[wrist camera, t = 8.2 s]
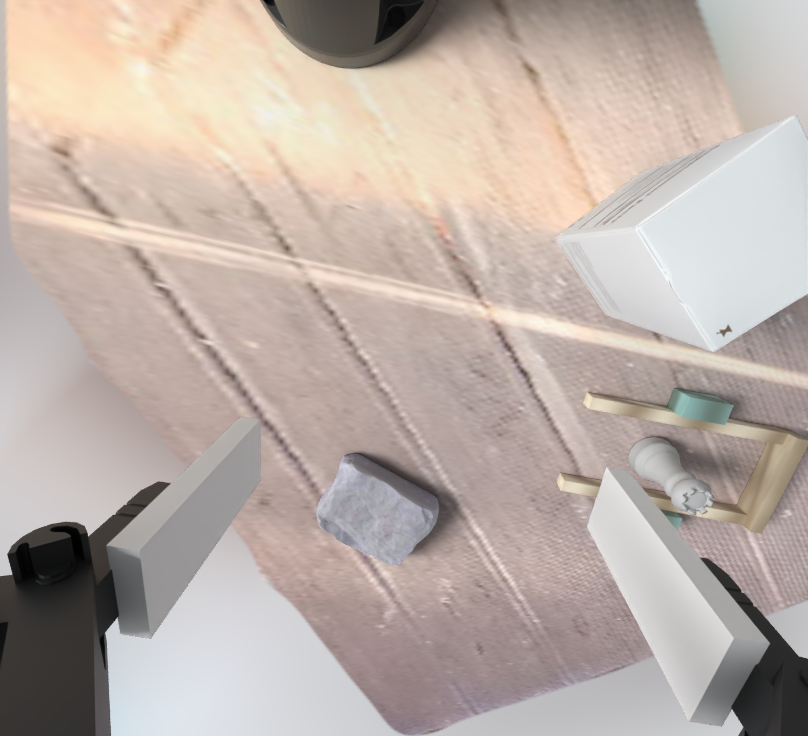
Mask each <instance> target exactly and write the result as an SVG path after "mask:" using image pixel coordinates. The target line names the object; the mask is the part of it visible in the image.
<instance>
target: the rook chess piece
mask: <svg viewBox="0 0 808 736" xmlns="http://www.w3.org/2000/svg"><path fill="white" fill-rule="evenodd" d="M628 459H629V465H630V467H631V468H632V470H633V471H634V472H636V473H637V474H638V475H639V476H640V477H642V478H644V479H646V480H648V481H652V482H657V483H658V484H659V485H661V486H662V487H663V488H664V490H665V492H666V494H667V495H668V496H669V497H671V502H672V504H673V505H674V507H675V508H677V509H679V510H680V511H685V512H688V513H689V514H690V515H696V511H699V512H700V513H701V514H705V513H707V512H708V511H707V510H706V509H705V507H706V506H707V505H708V506H709V507H713V505H714V502H713V501H712V500H711V498H714V497H713V495H712V493H711V488H710V486H709V485H708V484H707V483H706V482H704V481H702V480H697V479H696V477H695V476H694V475H693V474H691V473H689V472H686V471H685V470H684V468H683V467H682V466H681V461H680V456H679V454H678V452H677V451H676V449H675V447H673V446H672V445H671V443H670V442H668V441H667V440H665V439H663V438H658V437H651V438H646V439H643V440H641V441H639V442H637V443H636V444H635V445H634V446H633V448H632V449H631V451H630V454H629V457H628Z"/></svg>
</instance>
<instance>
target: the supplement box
mask: <svg viewBox="0 0 808 736" xmlns="http://www.w3.org/2000/svg"><path fill="white" fill-rule="evenodd" d="M555 239H556V242H557V243H558V245H559V246H560V248H561V249H562V251H563V252H564V254H565V255H566V257H567V258H568V260H569V261H570V263H571V264H572V266H573V267H574V269H575V270H576V272H577V273H578V275H579V276H580V278H581V279H582V281H583V282H584V284H585V285H586V287H587V288H588V290H589V291H590V293H591V294H592V296H593V297H594V299H595V300H596V302H597V303H598V305H599V306H600V308H601V309H602V311H603V312H604V314H605V315H607V316H610V317H613V318H616V319H619V320H621V321H624V322H627V323H630V324H633V325H636V326H639V327H642V328H645V329H647V330H650V331H653V332H656V333H659V334H662V335H665V336H668V337H671V338H673V339H676V340H679V341H682V342H685V343H688V344H691V345H694V346H696V347H699V348H702V349H705V350H708V351H711V352H715V351H717V350H719V349H720V348H722V347H723V346H725V345H726V344H728V343H730V342H731V341H733V340H734V339H736V338H737V337H739V336H741V335H742V334H744V333H745V332H747V331H749V330H750V329H752V328H753V327H755V326H756V325H758V324H760V323H761V322H763V321H764V320H766V319H768V318H769V317H771V316H772V315H774V314H776V313H777V312H779V311H780V310H782V309H784V308H785V307H787V306H789V305H790V304H792V303H794V302H795V301H797V300H798V299H800V298H802V297H804V296H805V295H807V294H808V138H807V136H806V134H805V132H804V130H803V128H802V126H801V124H800V121H799V120H798V117H797V115H793V116H790V117H788V118H785V119H782V120H780V121H777V122H774V123H772V124H769V125H766V126H763V127H761V128H758V129H755V130H753V131H750V132H747V133H745V134H742V135H739V136H737V137H734V138H731V139H729V140H726V141H723V142H721V143H718V144H716V145H713V146H710V147H708V148H705V149H702V150H700V151H697V152H694V153H692V154H689V155H686V156H683V157H681V158H678V159H675V160H673V161H670V162H667V163H665V164H662V165H659V166H657V167H654V168H651V169H649V170H646V171H643V172H641V173H639V174H638V175H636V176H635V177H634V178H632V179H631V180H630V181H628V182H627V183H626V184H625V185H623V186H622V187H621V188H619V189H618V190H617V191H615V192H614V193H613V194H611V195H610V196H609V197H607V198H606V199H605V200H603V201H602V202H601V203H600V204H598V205H597V206H596V207H594V208H593V209H592V210H590V211H589V212H588V213H586V214H585V215H584V216H582V217H581V218H580V219H578V220H577V221H576V222H575V223H573V224H572V225H571V226H569V227H568V228H567V229H565V230H564V231H563V232H561V233H560V234H559V235H558V236H556V238H555Z"/></svg>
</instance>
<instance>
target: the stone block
mask: <svg viewBox="0 0 808 736" xmlns="http://www.w3.org/2000/svg"><path fill="white" fill-rule="evenodd" d="M438 514H439V506H438V500H437V498H436V497H435V496H434V495H432V494H431V493H429V492H427V491H426V490H424V489H422V488H420V487H418V486H416V485H415V484H413V483H411V482H409V481H407V480H405V479H404V478H402V477H400V476H398V475H396V474H394V473H393V472H391V471H389V470H387V469H385V468H383V467H381V466H379V465H378V464H376V463H375V462H373V461H371V460H369V459H367V458H366V457H363V456H362V455H359V454H356V453H353V454H347V455H345V456H344V457H342V459H341V461H340V465H339V471H338V473H337V476H336V477H335V480H334V482H333V484H332V485H331V486H330V487H329V488H328V489H327V491H326V493H325V494H324V495H323V496H322V497H321V499H320V501H319V503H318V508H317V514H316V517H317V518H318V524H319V526H320V527H321V529H322V530H323V531H324V532H325V533H328V534H332V535H333V536H335V537H336V538H337V540H339V541H340V542H342V543H344V544H346V545H348V546H351V547H355V548H356V549H358V550H359V551H361V552H363V553H365V554H368V555H372V556H373V557H374V558H375V559H377V560H380V561H382V562H384V563H386V564H389V565H392V566H394V565H397V564H399V563H401V562H402V561H403V559H404V558H405V557H407V556H408V555H409V554H410V553H411V552H412V551H413V549H414V548H415V546H416V545H417V543H419V542H420V541H421V540H423V539H424V538H425V537H426V536H427V535H428V534H429V533H430V532H431V530H432V529H433V527H434V526H435V524H436V522H437V518H438Z"/></svg>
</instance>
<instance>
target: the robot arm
mask: <svg viewBox="0 0 808 736" xmlns="http://www.w3.org/2000/svg"><path fill="white" fill-rule="evenodd" d="M260 1H261V3H262V5H263V6H264V8H265V9H266V11H267V12H268V14H269V15H270V17H271V18H272V20H273V21H274V23H275V24H276V26H277V27H278V28H279V30H280V31H281V32H282V33H283V35H284V36H285V37H286V38H287V39H288V40H289V41H290V42H291V43H292V44H293V45H294V46H295V47H297V48H298V49H299V50H300V51H302V52H303V53H305V54H306V55H308V56H309V57H311V58H313V59H315V60H317V61H320V62H322V63H325V64H328V65H332V66H336V67H343V68H358V67H365V66H369V65H373V64H376V63H379V62H381V61H384V60H386V59H388V58H390V57H391V56H393V55H395V54H396V53H398V52H399V51H400V50H402V49H403V48H404V47H405V46H407V45H408V44H409V43H410V42H411V41H412V40H413V39H414V38H415V37H416V35H417V34H418V33H419V32H420V31H421V29H422V28H423V27H424V25H425V24H426V22H427V20H428V19H429V17H430V15H431V14H432V12H433V10H434V8H435V5H436V3H437V1H438V0H260ZM260 481H261V478H260V419H254V418H247V417H240V418H239V419H238V420H237V421H236V422H235V423H234V424H233V425H231V426H230V427H229V428H228V429H227V430H226V431H225V432H224V433H223V434H222V435H221V436H220V437H219V438H218V439H217V440H216V441H215V442H214V443H213V444H212V445H211V446H210V447H209V448H207V449H206V450H205V451H204V452H203V453H202V454H201V455H200V456H199V457H198V458H197V459H196V460H195V461H194V462H193V463H192V464H191V465H190V466H189V467H188V468H187V469H186V470H185V471H184V472H183V473H181V474H180V475H179V476H178V477H177V478H176V479H175V480H174V481H173V482H172V483H165V482H157V483H155V484H153V485H151V486H149V487H147V488H145V489H143V490H141V491H140V492H139V493H138V494H136V495H135V496H134V497H133V498H132V499H131V500H130V501H128V502H127V505H124V506H123V507H122V508H121V509H119V510H118V511H117V512H116V515H113V516H112V517H110V518H109V519H108V520H107V521H106V522H105V523H103V524H102V525H101V526H100V527H99V528H98V529H97V530H96V531H94V532H93V533H92V534H91V535H90V536H89V537H88V533H87V530H86V529H85V526H83V525H81V524H78V523H75V522H61V523H56V524H50V525H47V526H44V527H41V528H39V529H36V530H34V531H32V532H30V533H29V534H27V535H25V536H23V537H22V538H20V539H19V540H18V541H17V542H16V543H15V544H13V545H12V547H11V549H10V550H9V552H8V554H7V555H8V559H9V563H10V566H11V570H12V574H13V575H7V576H0V736H111V725H110V704H109V683H108V664H107V663H108V662H107V641H106V635H105V632H106V631H107V629H108V628H109V627H110V626H111V625H112V623H113V622H114V621H115V620H116V618H117V617H118V622H119V628H120V634H123V635H129V636H135V637H142V638H149V639H151V638H152V636H153V634H154V633H155V632H156V630H157V629H158V627H159V626H160V625H161V623H162V622H163V620H164V619H165V617H166V616H167V615H168V613H169V612H170V610H171V608H172V607H173V606H174V605H175V603H176V601H177V600H178V599H179V597H180V596H181V594H182V593H183V592H184V590H185V589H186V587H187V586H188V584H189V583H190V581H191V580H192V579H193V577H194V576H195V574H196V573H197V571H198V570H199V569H200V567H201V566H202V564H203V562H204V561H205V560H206V558H207V557H208V556H209V554H210V553H211V551H212V550H213V548H214V547H215V545H216V544H217V542H218V541H219V540H220V538H221V537H222V535H223V534H224V532H225V531H226V530H227V528H228V527H229V525H230V524H231V522H232V521H233V520H234V518H235V517H236V515H237V514H238V512H239V511H240V509H241V508H242V507H243V505H244V504H245V502H246V501H247V499H248V498H249V497H250V495H251V494H252V492H253V491H254V489H255V488H256V486H257V485H258V484H259V482H260ZM587 528H588V530H589V532H590V534H591V535H592V537H593V539H594V541H595V543H596V545H597V547H598V549H599V551H600V553H601V555H602V556H603V558H604V560H605V562H606V564H607V566H608V568H609V570H610V572H611V574H612V575H613V577H614V579H615V581H616V583H617V585H618V587H619V589H620V591H621V593H622V595H623V596H624V598H625V600H626V602H627V604H628V606H629V608H630V610H631V612H632V614H633V615H634V617H635V619H636V621H637V623H638V625H639V627H640V629H641V631H642V633H643V635H644V636H645V638H646V640H647V642H648V644H649V646H650V648H651V650H652V652H653V654H654V655H655V657H656V659H657V661H658V663H659V665H660V667H661V669H662V671H663V673H664V675H665V676H666V678H667V680H668V682H669V684H670V686H671V688H672V690H673V691H674V694H675V695H676V697H677V699H678V701H679V703H680V705H681V707H682V709H683V710H684V713H685V714H686V716H687V718H688V720H689V721H690V722H696V723H703V724H709V725H716V726H722V725H723V724H724V722H725V720H726V718H727V717H728V715H729V713H730V712H731V710H733V711H734V713H735V714H736V716H737V717H738V719H739V720H740V722H741V724H742V725H743V729H742V731H741V732H740V734H739V736H808V659H807V658H803V657H799V656H798V655H797V654H796V653H795V652H794V650H793V649H792V648H791V647H790V646H789V645H788V643H787V642H786V641H785V640H784V639H783V638H782V636H781V635H780V634H779V633H778V632H777V631H776V630H775V628H774V627H773V626H772V625H771V624H770V623H769V621H768V620H767V619H766V618H765V617H764V616H763V614H762V613H761V612H760V611H759V610H758V609H757V608H756V607H754V606H753V603H752V602H751V601H750V599H749V598H748V597H747V596H746V595H745V594H744V593H742V592H741V589H740V588H739V587H738V586H737V584H736V583H735V582H734V581H733V580H732V579H731V577H730V576H729V575H728V574H727V573H726V572H724V571H723V570H722V569H721V568H719V567H718V566H717V565H716V564H714V563H713V562H712V561H710V560H709V559H707V558H700V557H699V556H698V555H697V554H696V553H695V552H694V550H693V549H692V548H691V547H690V545H689V544H688V543H687V542H686V541H685V539H684V538H683V537H682V536H681V534H680V533H679V532H678V531H677V530H676V528H675V527H674V526H673V525H672V524H671V522H670V521H669V520H668V519H667V517H666V516H665V515H664V514H663V513H662V511H661V510H660V509H659V508H658V507H657V505H656V504H655V503H654V502H653V500H652V499H651V498H650V497H649V496H648V494H647V493H646V492H645V491H644V489H643V488H642V487H641V486H640V485H639V483H638V482H637V481H636V480H635V479H634V477H633V476H632V475H631V474H630V472H629V471H628V470H625V469H618V468H610V467H607V468H606V471H605V474H604V477H603V480H602V483H601V486H600V489H599V492H598V495H597V498H596V501H595V504H594V507H593V510H592V513H591V516H590V519H589V522H588V525H587Z"/></svg>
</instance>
